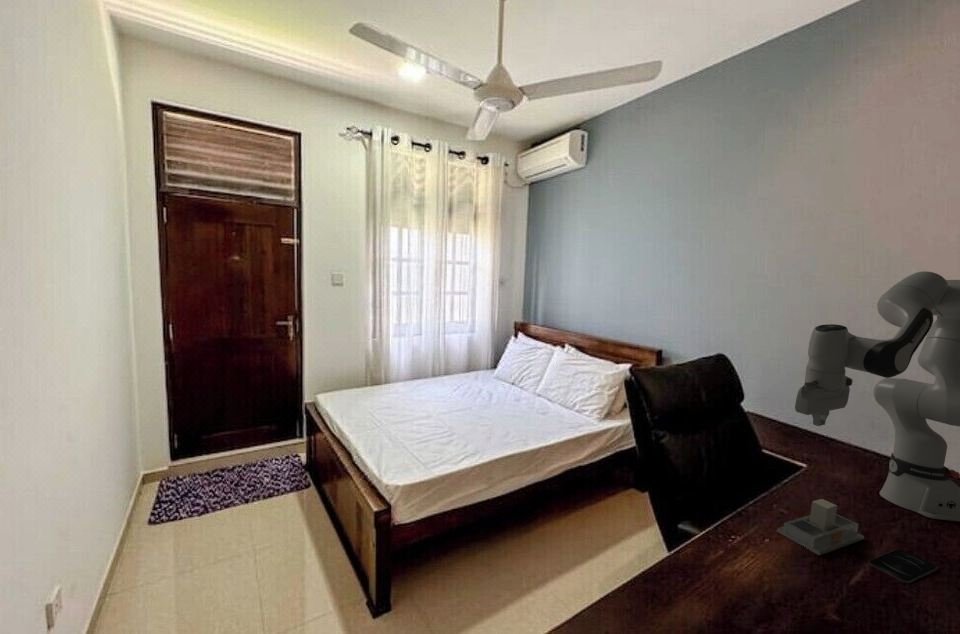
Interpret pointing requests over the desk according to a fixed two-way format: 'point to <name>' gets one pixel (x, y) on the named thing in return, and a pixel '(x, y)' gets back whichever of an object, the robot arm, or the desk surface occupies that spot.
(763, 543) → the desk surface
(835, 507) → the block
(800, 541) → the rack
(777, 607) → the desk surface
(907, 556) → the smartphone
